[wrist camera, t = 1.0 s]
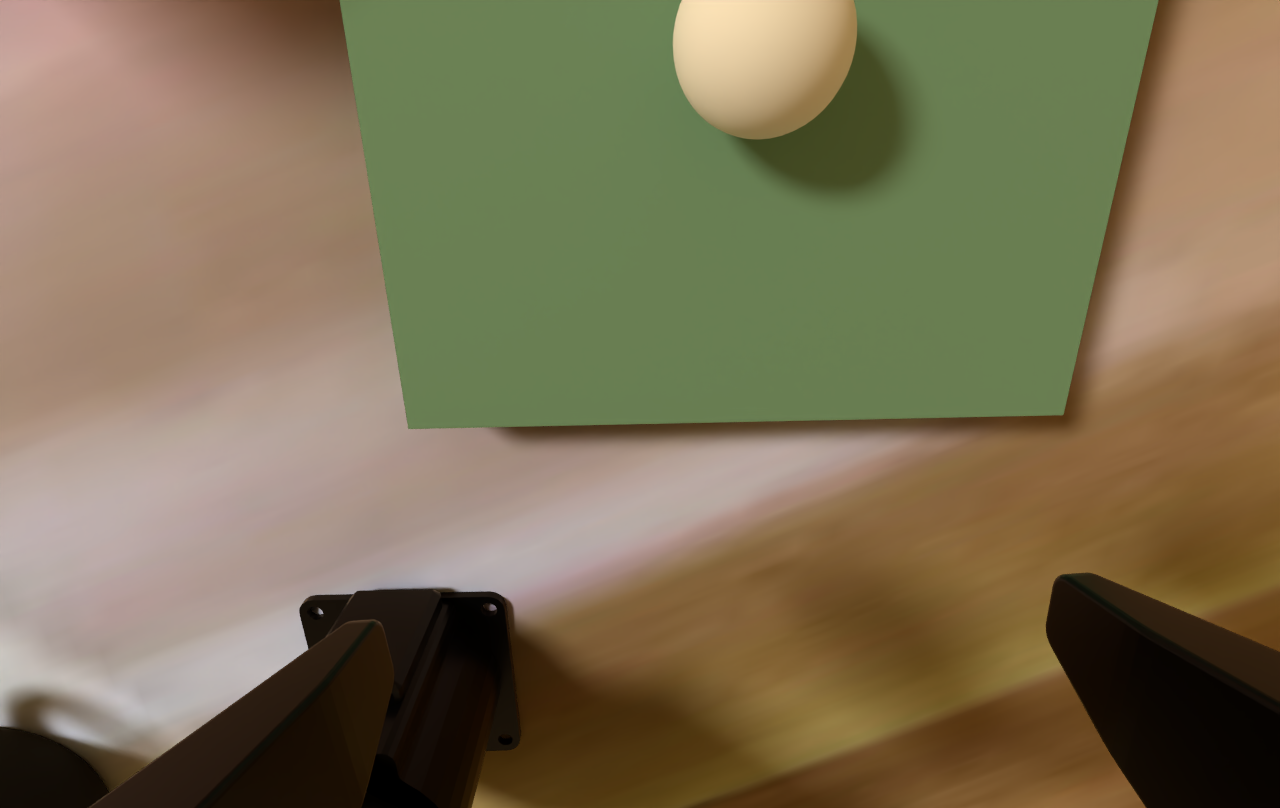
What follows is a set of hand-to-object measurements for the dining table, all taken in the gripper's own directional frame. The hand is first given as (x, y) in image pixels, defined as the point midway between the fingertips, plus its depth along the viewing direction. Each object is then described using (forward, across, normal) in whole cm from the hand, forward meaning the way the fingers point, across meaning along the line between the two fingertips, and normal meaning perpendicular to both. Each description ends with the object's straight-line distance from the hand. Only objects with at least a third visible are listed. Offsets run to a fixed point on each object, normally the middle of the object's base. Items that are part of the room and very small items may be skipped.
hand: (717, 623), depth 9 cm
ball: (+6, -2, -8) cm, 10 cm away
